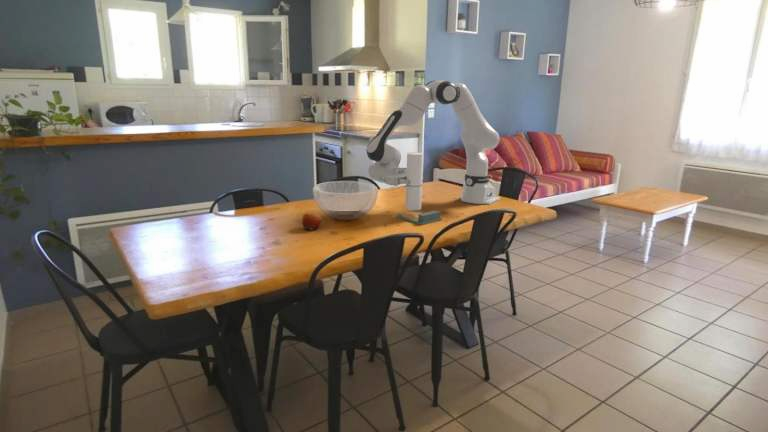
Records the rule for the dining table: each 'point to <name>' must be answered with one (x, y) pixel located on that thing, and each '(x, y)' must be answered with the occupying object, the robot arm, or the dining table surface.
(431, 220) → the deck plate
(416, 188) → the cylindrical container
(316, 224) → the fruit
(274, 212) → the dining table surface
